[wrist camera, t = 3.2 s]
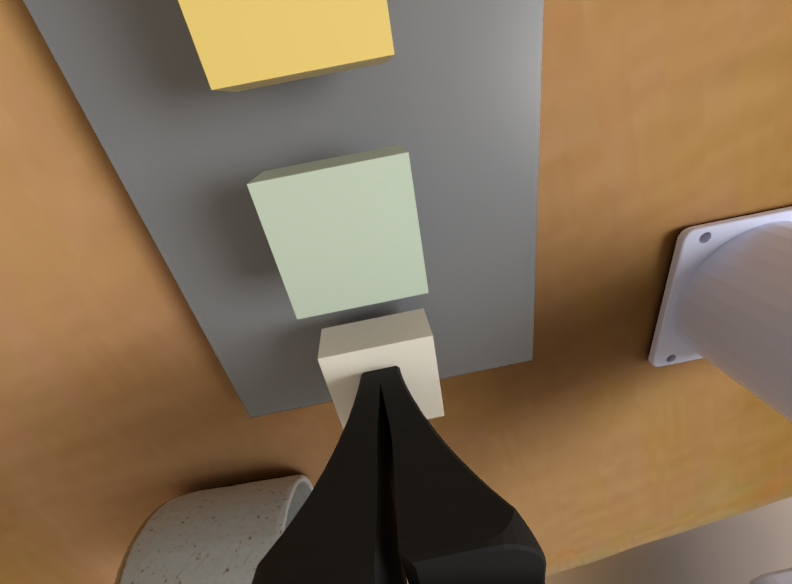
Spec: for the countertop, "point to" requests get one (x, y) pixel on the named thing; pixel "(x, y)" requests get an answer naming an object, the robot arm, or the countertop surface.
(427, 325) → the ivory key
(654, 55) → the countertop surface
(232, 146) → the key panel
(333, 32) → the mustard key
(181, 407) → the countertop surface
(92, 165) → the countertop surface
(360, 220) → the sage key
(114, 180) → the countertop surface
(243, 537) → the ceramic mug
